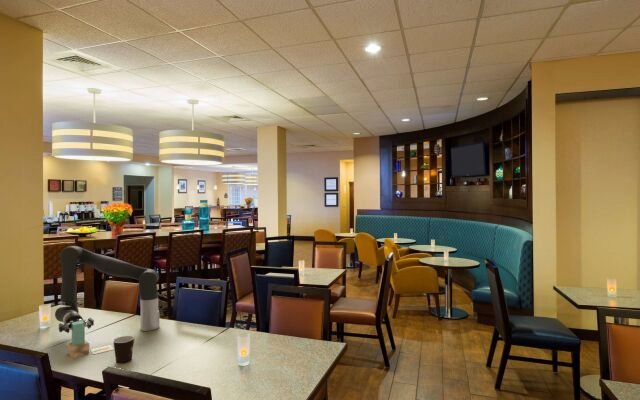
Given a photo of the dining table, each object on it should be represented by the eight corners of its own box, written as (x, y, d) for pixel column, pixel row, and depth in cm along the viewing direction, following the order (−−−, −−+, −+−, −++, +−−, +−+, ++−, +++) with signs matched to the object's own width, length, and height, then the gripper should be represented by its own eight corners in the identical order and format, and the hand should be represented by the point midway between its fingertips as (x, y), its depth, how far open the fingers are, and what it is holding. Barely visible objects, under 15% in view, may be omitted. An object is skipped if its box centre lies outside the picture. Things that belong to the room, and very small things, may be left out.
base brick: (84, 349, 187) (83, 339, 187) (89, 353, 182) (89, 343, 182) (67, 354, 181) (67, 343, 181) (72, 358, 177) (72, 347, 177)
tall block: (82, 340, 185) (82, 320, 185) (84, 343, 182) (84, 322, 182) (71, 343, 182) (71, 322, 182) (73, 346, 179) (73, 325, 179)
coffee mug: (125, 365, 168) (125, 343, 168) (108, 364, 170) (108, 342, 170) (142, 355, 180) (142, 334, 180) (126, 353, 182) (126, 332, 181)
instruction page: (110, 345, 192) (110, 344, 192) (114, 349, 187) (114, 348, 187) (90, 350, 186) (90, 349, 186) (93, 354, 180) (93, 354, 180)
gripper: (55, 316, 188) (61, 324, 176) (88, 310, 197) (96, 317, 185) (55, 331, 188) (61, 340, 176) (88, 324, 197) (96, 332, 185)
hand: (79, 328), depth 180 cm, fingers open, 8 cm apart
